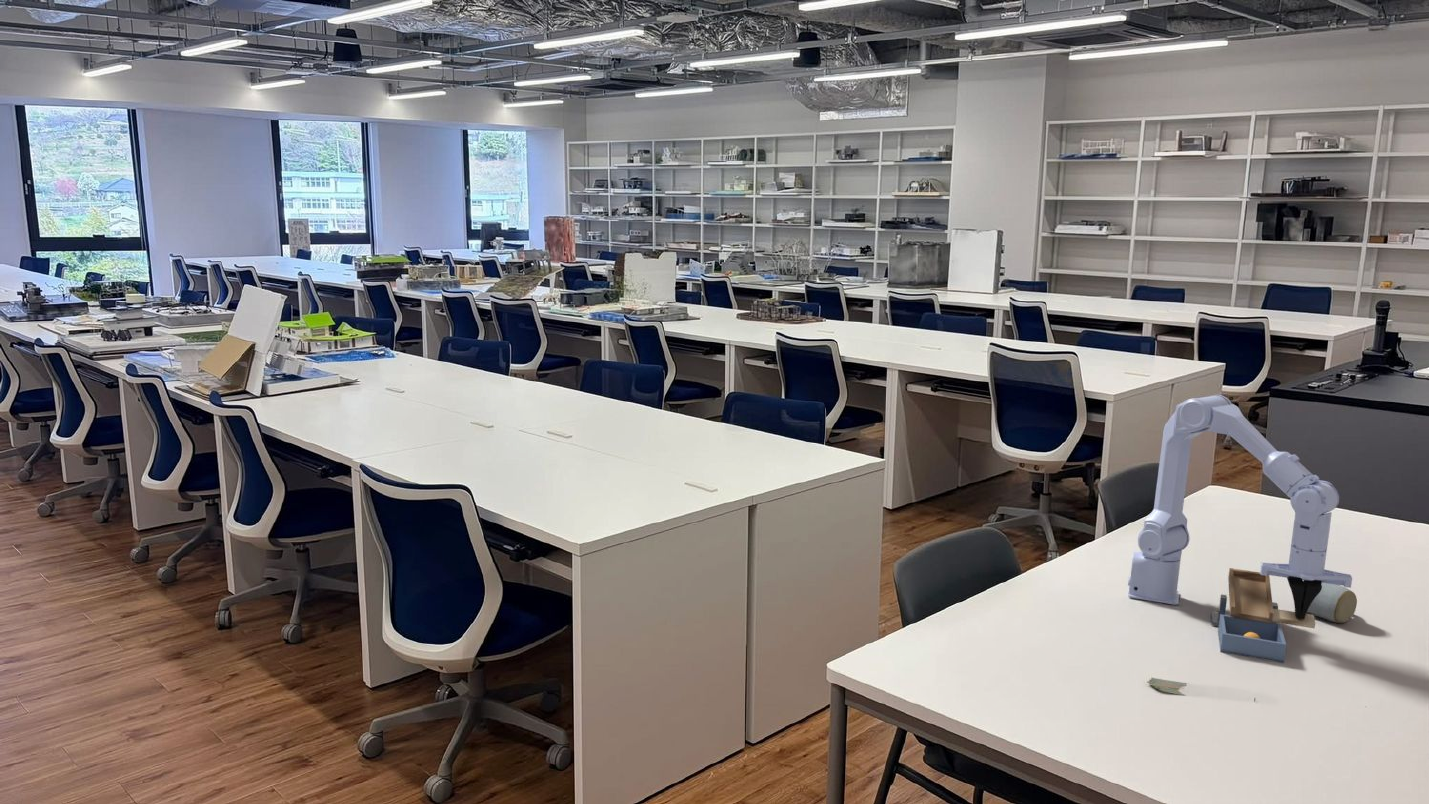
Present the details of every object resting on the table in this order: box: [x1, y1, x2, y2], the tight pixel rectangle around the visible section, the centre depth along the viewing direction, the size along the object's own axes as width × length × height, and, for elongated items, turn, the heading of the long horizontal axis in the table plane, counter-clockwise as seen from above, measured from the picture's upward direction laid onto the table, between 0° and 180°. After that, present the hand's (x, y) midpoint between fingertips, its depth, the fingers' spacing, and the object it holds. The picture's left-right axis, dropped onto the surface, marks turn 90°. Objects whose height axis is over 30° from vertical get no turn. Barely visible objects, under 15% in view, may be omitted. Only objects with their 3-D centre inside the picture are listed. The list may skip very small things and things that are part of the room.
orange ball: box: [1244, 632, 1260, 639], centre depth 185 cm, size 3×3×3 cm
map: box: [1146, 677, 1256, 702], centre depth 169 cm, size 5×20×1 cm, turn 79°
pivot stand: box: [1210, 593, 1281, 628], centre depth 196 cm, size 12×6×5 cm, turn 66°
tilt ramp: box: [1227, 567, 1316, 629], centre depth 194 cm, size 14×14×5 cm
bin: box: [1217, 614, 1287, 663], centre depth 187 cm, size 10×10×4 cm
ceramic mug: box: [1306, 583, 1358, 624], centre depth 202 cm, size 11×8×8 cm
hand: (1299, 616), depth 188 cm, fingers closed, pressing on tilt ramp
